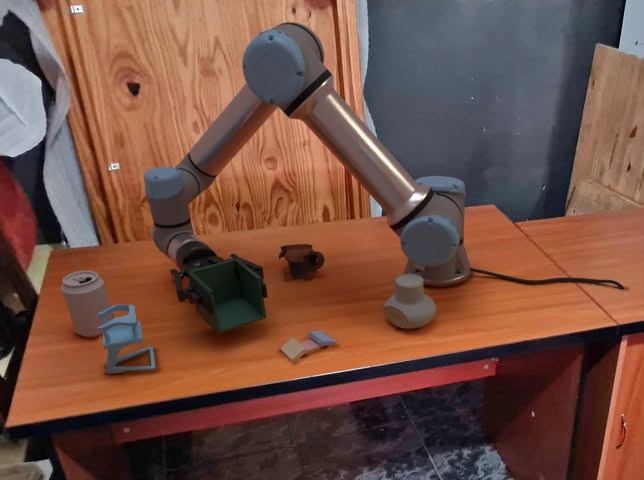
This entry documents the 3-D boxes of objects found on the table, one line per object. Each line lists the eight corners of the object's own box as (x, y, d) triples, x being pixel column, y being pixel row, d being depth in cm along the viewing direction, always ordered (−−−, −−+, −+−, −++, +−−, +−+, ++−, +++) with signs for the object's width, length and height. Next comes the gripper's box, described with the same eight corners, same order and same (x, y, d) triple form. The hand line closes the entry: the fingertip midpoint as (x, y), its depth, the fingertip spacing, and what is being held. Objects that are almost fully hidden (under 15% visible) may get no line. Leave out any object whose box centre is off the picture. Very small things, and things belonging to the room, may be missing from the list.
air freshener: (378, 320, 144) (375, 277, 139) (405, 305, 149) (404, 264, 144) (415, 338, 138) (414, 295, 133) (442, 323, 144) (442, 281, 138)
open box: (195, 312, 136) (186, 271, 131) (244, 297, 141) (237, 257, 136) (217, 334, 129) (208, 292, 124) (267, 317, 135) (261, 277, 130)
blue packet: (323, 341, 132) (321, 345, 133) (336, 341, 135) (335, 346, 135) (308, 330, 135) (307, 335, 136) (322, 330, 138) (320, 335, 138)
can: (101, 341, 134) (84, 288, 127) (68, 336, 135) (49, 283, 129) (124, 322, 140) (109, 270, 134) (92, 318, 141) (75, 266, 135)
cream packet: (291, 360, 129) (294, 363, 130) (305, 348, 130) (307, 351, 131) (279, 348, 132) (282, 351, 133) (292, 336, 133) (295, 340, 134)
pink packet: (292, 345, 133) (293, 349, 134) (301, 353, 131) (301, 357, 132) (315, 337, 136) (315, 341, 137) (323, 344, 134) (324, 348, 134)
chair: (106, 359, 129) (89, 304, 123) (153, 350, 132) (139, 295, 126) (107, 381, 124) (89, 324, 117) (156, 371, 127) (141, 315, 120)
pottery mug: (272, 282, 158) (268, 246, 157) (295, 282, 167) (291, 248, 166) (317, 277, 154) (313, 240, 153) (338, 278, 163) (334, 243, 162)
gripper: (247, 260, 151) (295, 299, 137) (142, 288, 138) (183, 334, 124) (242, 228, 146) (291, 265, 132) (133, 254, 134) (174, 298, 120)
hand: (238, 299), depth 128 cm, fingers closed on open box, 10 cm apart
